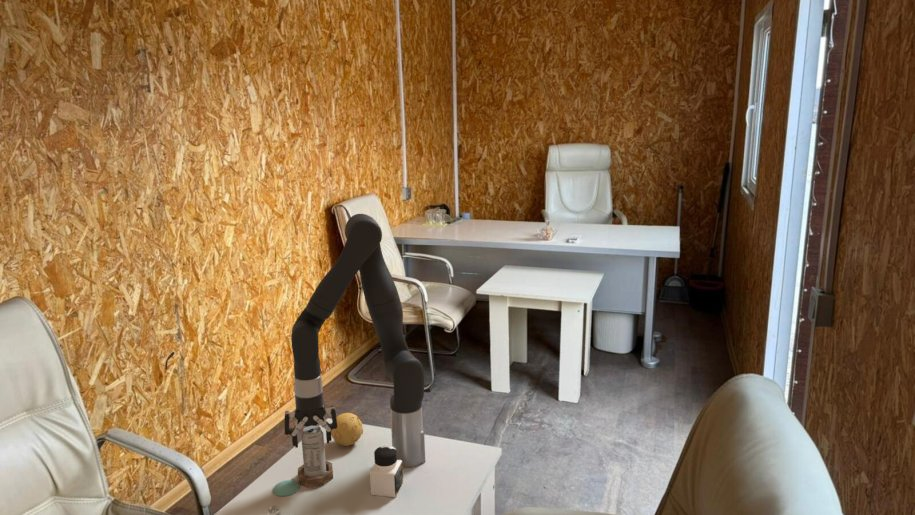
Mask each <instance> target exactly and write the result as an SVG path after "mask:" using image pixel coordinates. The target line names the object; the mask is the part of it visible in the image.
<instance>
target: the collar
mask: <svg viewBox="0 0 915 515" xmlns="http://www.w3.org/2000/svg"><path fill="white" fill-rule="evenodd" d="M325 462H326V473H325V474H323V475H322V476H318V477H311V478H309V477H307V476H305V474H304V463H303V464H302V465H300V466H299V467H298V468H297V480H298V481H297V482H298V483H299V486H303V487H305V488H309V489H311V488H317V487H323V486H325V485H327V484H328V483H329V482H331V481H332V480H333V479H334V470H333V463H332V462H329V461H327V460H325Z"/></svg>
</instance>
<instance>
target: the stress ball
mask: <svg viewBox="0 0 915 515" xmlns="http://www.w3.org/2000/svg"><path fill="white" fill-rule="evenodd" d="M336 419H337V428H336V429H332V430H331V438H332V439H333V440H334V442H336V444H339V446H340V445H341V446H345V447H350V446H352V445H354V444H355V443H357V442H358V441H359V439H361V436H362V435H363V433H364V427H363V421H362V419H361V418H360V417H359V416H358V415H356V414H354V413H351V412H343V413H340V414H339V415H336Z"/></svg>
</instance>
